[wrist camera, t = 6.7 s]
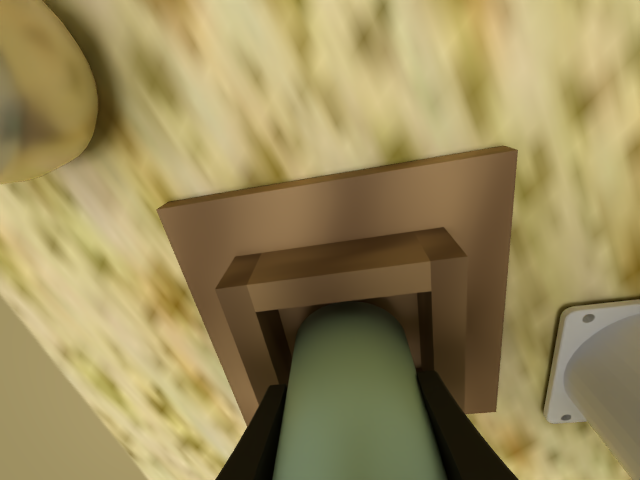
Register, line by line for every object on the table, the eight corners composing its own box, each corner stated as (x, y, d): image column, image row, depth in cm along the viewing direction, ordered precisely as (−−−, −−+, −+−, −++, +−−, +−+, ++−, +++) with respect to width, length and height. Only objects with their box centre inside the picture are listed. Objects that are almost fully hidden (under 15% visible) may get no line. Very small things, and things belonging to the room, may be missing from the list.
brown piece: (504, 145, 12) (564, 164, 9) (487, 395, 18) (520, 461, 15) (168, 202, 14) (117, 234, 10) (252, 414, 19) (236, 476, 16)
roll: (404, 295, 12) (504, 591, 5) (409, 382, 14) (486, 686, 7) (284, 307, 13) (216, 591, 5) (306, 390, 15) (276, 680, 7)
